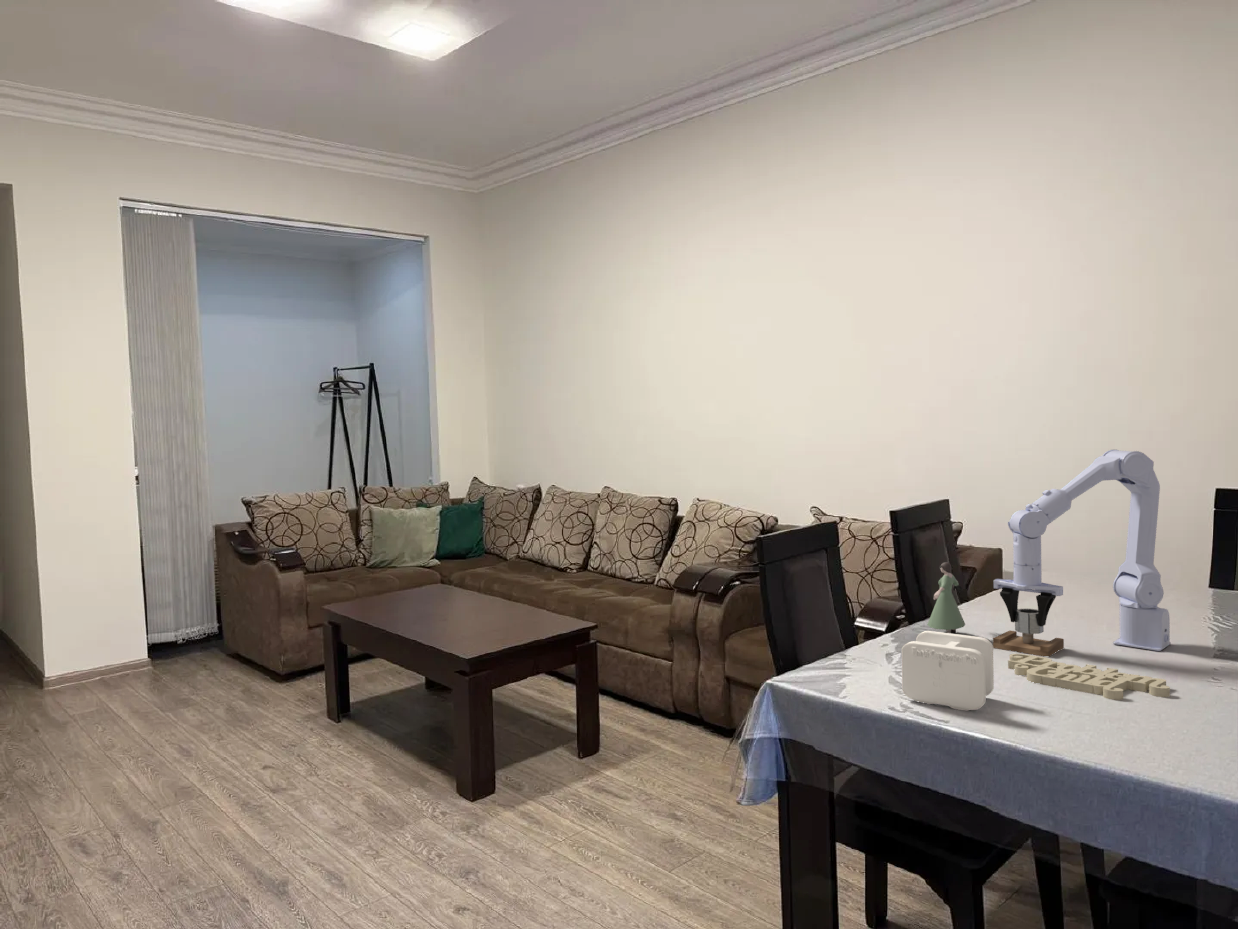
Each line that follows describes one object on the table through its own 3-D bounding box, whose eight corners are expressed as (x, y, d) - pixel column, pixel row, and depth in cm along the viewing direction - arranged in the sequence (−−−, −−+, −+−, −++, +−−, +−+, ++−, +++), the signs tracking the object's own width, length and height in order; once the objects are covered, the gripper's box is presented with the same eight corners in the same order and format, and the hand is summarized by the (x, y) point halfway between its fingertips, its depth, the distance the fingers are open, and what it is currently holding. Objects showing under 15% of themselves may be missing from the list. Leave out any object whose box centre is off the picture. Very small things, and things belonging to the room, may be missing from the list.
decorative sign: (986, 668, 178) (1014, 652, 189) (986, 678, 178) (1014, 661, 189) (1157, 699, 156) (1178, 678, 167) (1157, 710, 156) (1178, 689, 167)
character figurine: (945, 626, 219) (943, 555, 218) (978, 630, 213) (977, 558, 212) (917, 639, 207) (915, 564, 206) (951, 644, 202) (950, 568, 201)
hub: (1046, 630, 197) (1046, 610, 196) (1036, 635, 193) (1036, 614, 193) (1022, 626, 201) (1021, 607, 201) (1011, 631, 197) (1011, 611, 197)
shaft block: (1063, 648, 195) (1063, 624, 195) (1048, 657, 189) (1047, 632, 189) (1009, 639, 204) (1009, 616, 204) (993, 647, 198) (992, 624, 198)
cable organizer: (999, 699, 164) (998, 639, 163) (982, 716, 156) (981, 652, 155) (919, 686, 173) (918, 629, 173) (900, 701, 165) (898, 641, 164)
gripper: (987, 563, 198) (988, 621, 199) (1054, 569, 188) (1054, 632, 188) (1000, 558, 203) (1001, 616, 204) (1066, 565, 192) (1067, 625, 193)
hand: (1027, 623), depth 196 cm, fingers closed on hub, 5 cm apart
